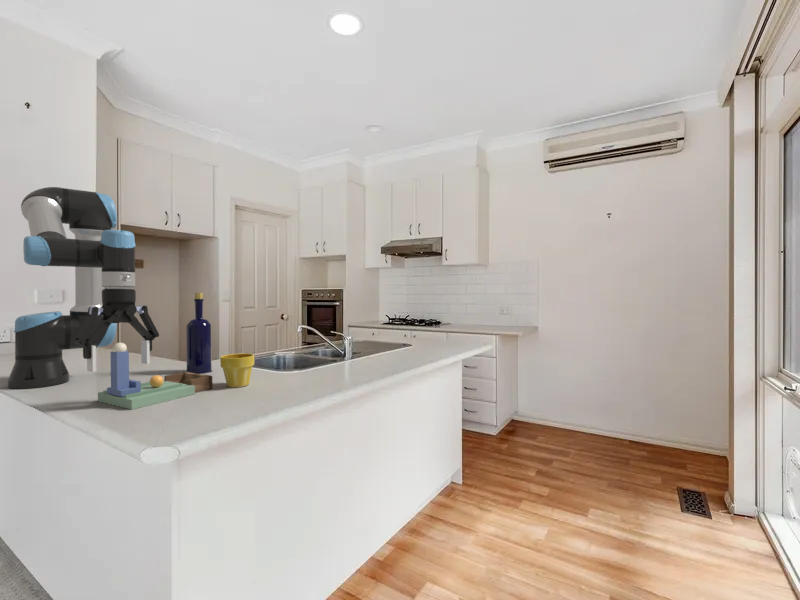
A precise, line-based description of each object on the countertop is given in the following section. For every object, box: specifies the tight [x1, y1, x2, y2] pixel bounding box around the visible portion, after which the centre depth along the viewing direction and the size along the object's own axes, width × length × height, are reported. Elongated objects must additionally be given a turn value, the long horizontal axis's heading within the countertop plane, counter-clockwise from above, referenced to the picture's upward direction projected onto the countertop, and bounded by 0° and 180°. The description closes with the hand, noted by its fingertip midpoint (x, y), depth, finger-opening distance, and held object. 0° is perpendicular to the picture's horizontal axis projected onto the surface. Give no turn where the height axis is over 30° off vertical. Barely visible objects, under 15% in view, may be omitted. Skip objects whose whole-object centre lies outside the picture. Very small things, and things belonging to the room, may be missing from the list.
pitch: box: [97, 381, 195, 410], centre depth 118 cm, size 16×18×3 cm
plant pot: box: [219, 352, 255, 388], centre depth 133 cm, size 10×10×10 cm
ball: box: [149, 375, 164, 387], centre depth 120 cm, size 4×4×4 cm
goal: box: [163, 371, 213, 393], centre depth 129 cm, size 13×7×4 cm, turn 63°
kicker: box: [106, 342, 142, 397], centre depth 112 cm, size 7×5×14 cm
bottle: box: [186, 292, 213, 375], centre depth 155 cm, size 9×9×30 cm
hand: (120, 367), depth 111 cm, fingers open, 13 cm apart
